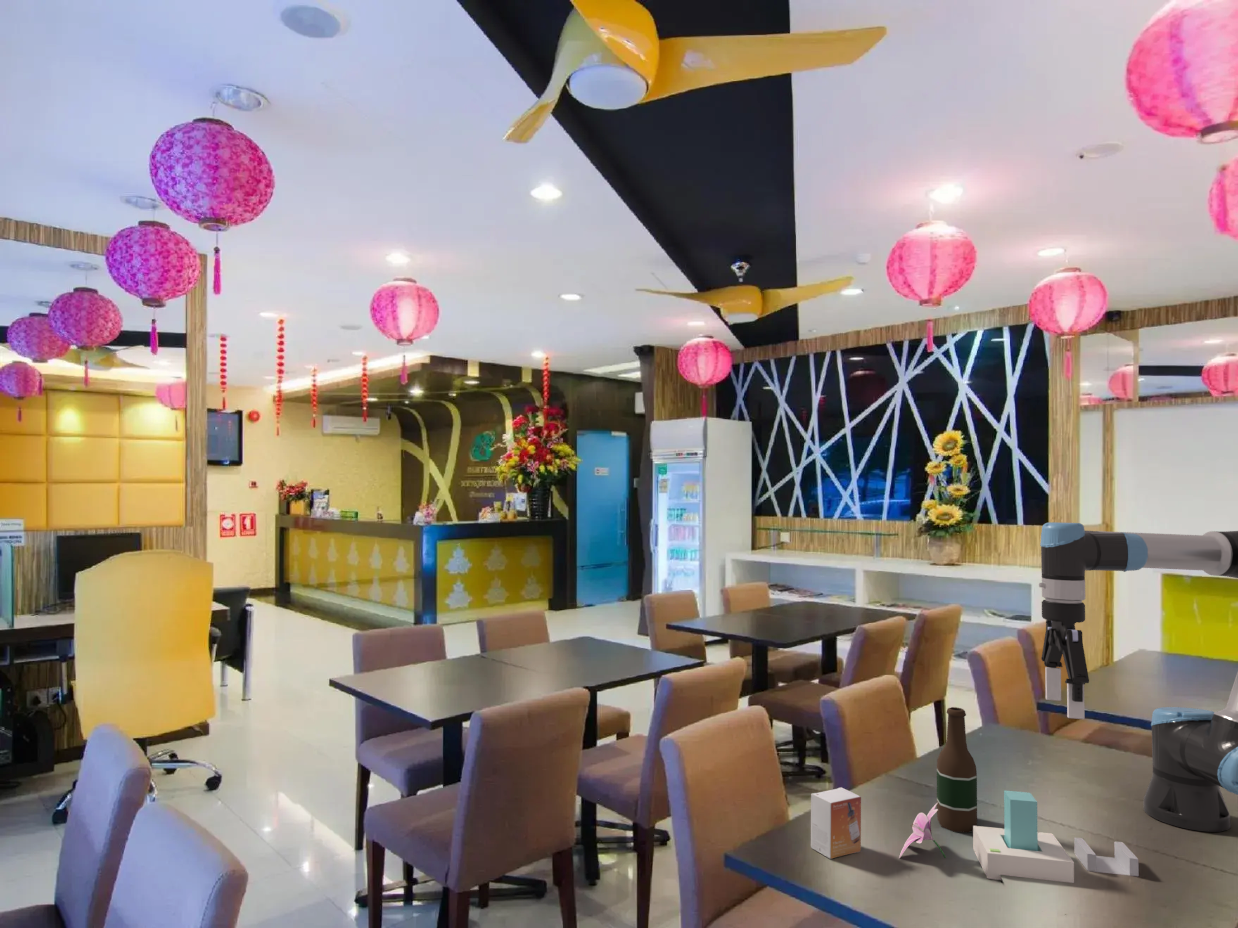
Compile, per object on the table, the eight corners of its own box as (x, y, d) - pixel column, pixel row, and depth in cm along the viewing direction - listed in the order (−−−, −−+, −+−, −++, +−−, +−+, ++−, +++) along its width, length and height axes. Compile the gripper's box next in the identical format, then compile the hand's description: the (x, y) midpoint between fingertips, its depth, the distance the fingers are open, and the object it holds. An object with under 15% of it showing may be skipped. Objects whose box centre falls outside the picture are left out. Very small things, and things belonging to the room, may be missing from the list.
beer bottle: (974, 836, 157) (973, 715, 158) (933, 827, 162) (933, 709, 162) (979, 823, 164) (979, 707, 165) (940, 814, 168) (939, 701, 169)
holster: (1122, 863, 146) (1122, 842, 147) (1138, 881, 140) (1138, 858, 140) (1074, 858, 148) (1074, 837, 148) (1087, 876, 141) (1087, 853, 142)
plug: (1030, 857, 146) (1030, 792, 147) (1037, 868, 142) (1037, 801, 142) (1004, 854, 147) (1004, 790, 148) (1010, 865, 143) (1010, 799, 143)
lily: (925, 841, 157) (900, 797, 158) (977, 837, 149) (950, 791, 150) (899, 880, 149) (873, 833, 150) (953, 878, 141) (925, 828, 142)
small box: (830, 860, 147) (830, 803, 147) (809, 847, 152) (810, 792, 152) (862, 851, 150) (862, 795, 151) (841, 840, 155) (841, 786, 156)
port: (1052, 857, 149) (1052, 832, 149) (1074, 888, 137) (1073, 860, 137) (973, 848, 152) (973, 824, 152) (987, 878, 140) (987, 851, 140)
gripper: (1024, 592, 168) (1025, 691, 168) (1062, 608, 144) (1063, 724, 143) (1063, 593, 167) (1064, 694, 166) (1108, 610, 142) (1109, 728, 142)
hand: (1064, 708), depth 155 cm, fingers open, 13 cm apart
